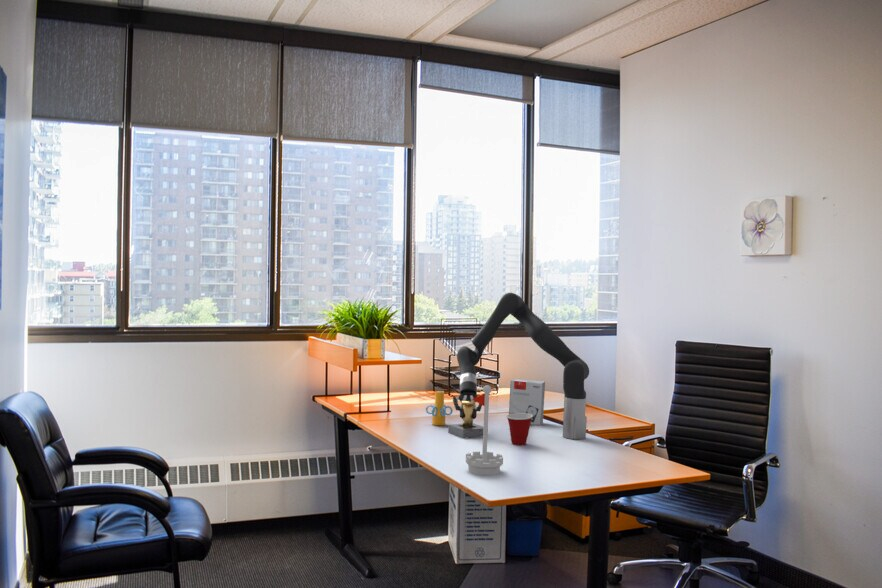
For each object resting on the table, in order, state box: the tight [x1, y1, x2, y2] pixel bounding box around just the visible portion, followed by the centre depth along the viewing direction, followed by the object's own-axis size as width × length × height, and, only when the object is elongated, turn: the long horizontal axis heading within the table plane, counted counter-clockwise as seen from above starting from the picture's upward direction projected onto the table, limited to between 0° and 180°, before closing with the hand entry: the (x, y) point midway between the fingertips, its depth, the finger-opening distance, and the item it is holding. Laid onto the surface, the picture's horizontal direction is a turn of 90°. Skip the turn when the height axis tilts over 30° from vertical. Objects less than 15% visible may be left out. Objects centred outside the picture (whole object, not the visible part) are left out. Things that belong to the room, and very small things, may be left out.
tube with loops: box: [425, 390, 453, 426], centre depth 335 cm, size 12×10×15 cm
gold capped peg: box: [461, 400, 476, 428], centre depth 316 cm, size 6×6×12 cm
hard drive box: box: [508, 378, 546, 426], centre depth 348 cm, size 16×8×20 cm, turn 71°
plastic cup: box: [505, 413, 533, 446], centre depth 301 cm, size 11×11×12 cm
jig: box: [447, 422, 484, 439], centre depth 316 cm, size 12×12×4 cm
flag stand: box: [465, 384, 504, 476], centre depth 256 cm, size 13×13×30 cm
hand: (468, 417), depth 314 cm, fingers closed on gold capped peg, 4 cm apart
